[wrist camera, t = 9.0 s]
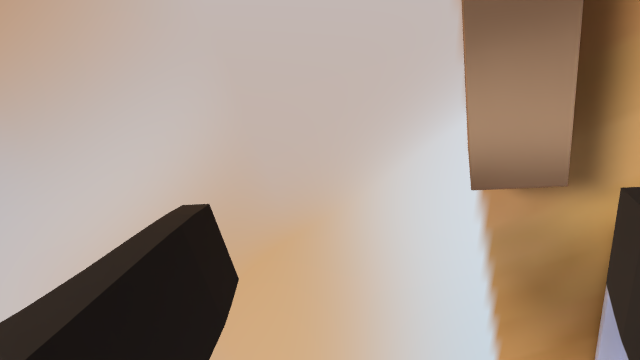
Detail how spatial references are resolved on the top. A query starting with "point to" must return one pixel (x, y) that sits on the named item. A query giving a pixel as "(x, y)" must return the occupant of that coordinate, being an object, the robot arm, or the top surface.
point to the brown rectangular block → (520, 90)
